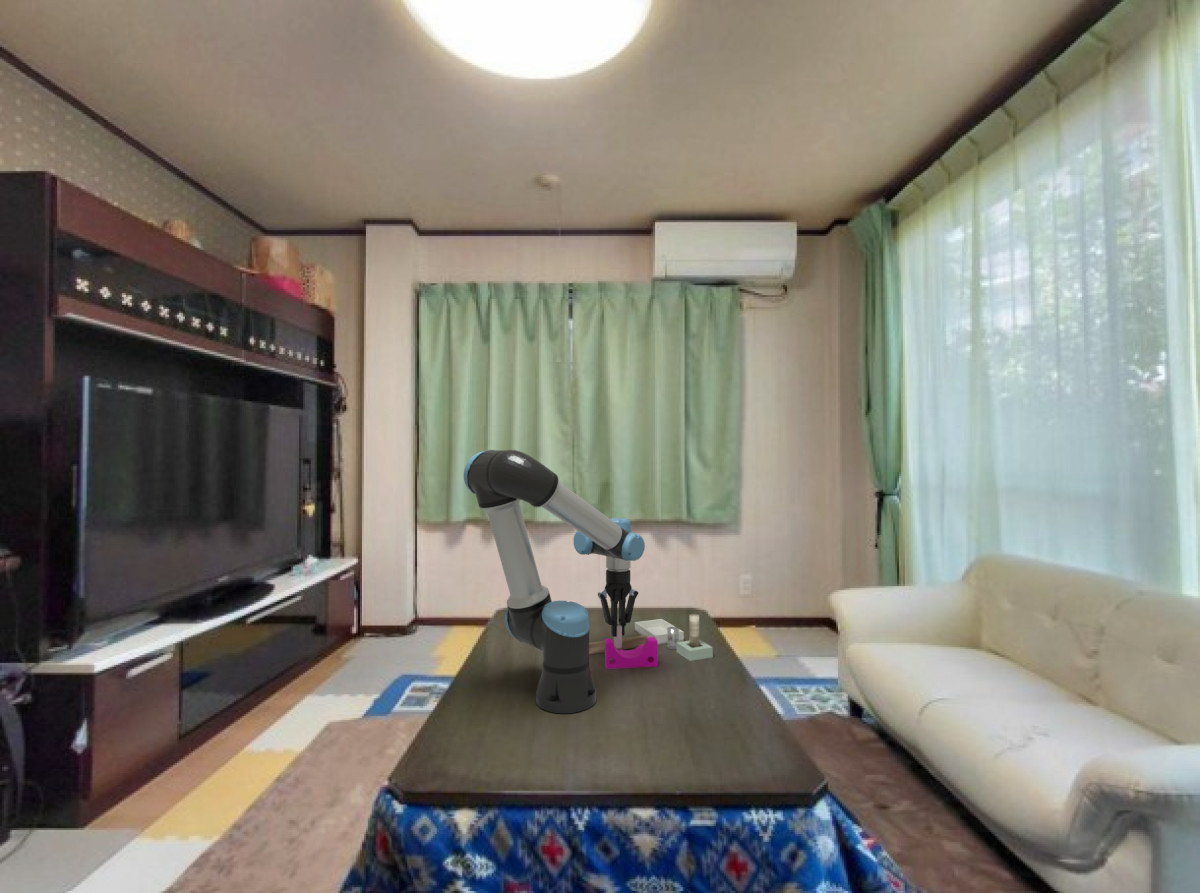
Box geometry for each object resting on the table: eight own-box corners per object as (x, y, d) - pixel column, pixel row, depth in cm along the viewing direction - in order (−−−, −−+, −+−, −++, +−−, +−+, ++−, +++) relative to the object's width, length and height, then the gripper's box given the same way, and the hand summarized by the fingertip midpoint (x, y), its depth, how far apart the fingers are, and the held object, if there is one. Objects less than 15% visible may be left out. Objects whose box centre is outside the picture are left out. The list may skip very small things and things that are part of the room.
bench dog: (680, 648, 173) (680, 629, 173) (670, 650, 172) (670, 631, 172) (675, 645, 176) (675, 626, 176) (665, 646, 175) (665, 627, 175)
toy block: (653, 659, 165) (653, 634, 165) (657, 667, 159) (657, 641, 159) (604, 661, 163) (604, 636, 164) (606, 669, 157) (606, 643, 157)
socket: (712, 657, 165) (712, 647, 165) (689, 661, 163) (689, 650, 163) (698, 648, 173) (698, 639, 173) (676, 652, 170) (676, 642, 170)
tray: (683, 640, 180) (683, 631, 180) (655, 645, 176) (655, 635, 176) (661, 627, 195) (661, 618, 195) (634, 630, 191) (634, 622, 191)
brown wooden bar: (647, 645, 176) (647, 636, 176) (582, 655, 168) (582, 645, 168) (645, 644, 177) (645, 635, 177) (581, 653, 169) (581, 643, 169)
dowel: (701, 655, 167) (701, 616, 167) (692, 657, 166) (692, 617, 166) (696, 652, 170) (695, 613, 170) (687, 653, 169) (687, 614, 169)
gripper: (632, 565, 174) (632, 640, 173) (594, 568, 169) (593, 645, 168) (642, 570, 167) (642, 648, 166) (602, 572, 162) (602, 653, 161)
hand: (617, 646), depth 167 cm, fingers closed
